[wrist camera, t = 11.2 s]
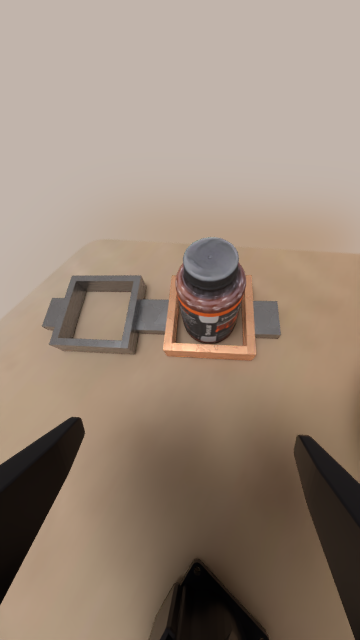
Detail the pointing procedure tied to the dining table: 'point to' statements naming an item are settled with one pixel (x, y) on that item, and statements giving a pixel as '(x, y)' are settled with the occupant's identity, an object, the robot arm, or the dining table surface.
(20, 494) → the robot arm
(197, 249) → the supplement bottle
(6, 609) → the dining table surface
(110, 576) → the dining table surface
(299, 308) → the dining table surface
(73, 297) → the socket rail
